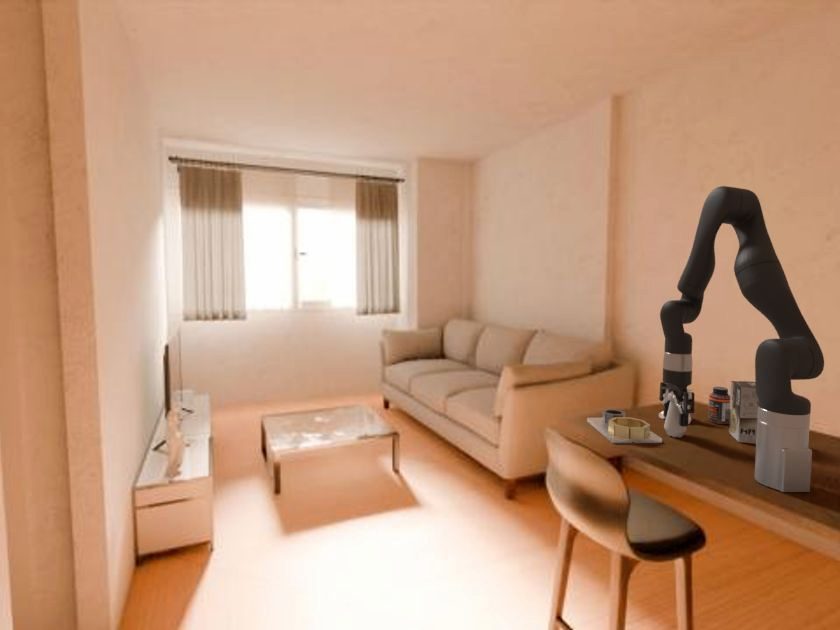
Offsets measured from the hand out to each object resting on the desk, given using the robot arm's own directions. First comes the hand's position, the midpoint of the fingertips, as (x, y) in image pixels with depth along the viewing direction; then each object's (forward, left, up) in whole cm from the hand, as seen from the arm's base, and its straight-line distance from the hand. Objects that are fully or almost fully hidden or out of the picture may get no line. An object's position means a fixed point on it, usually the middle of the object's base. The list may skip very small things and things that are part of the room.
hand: (675, 421), depth 136 cm
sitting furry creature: (+16, -10, -5) cm, 19 cm away
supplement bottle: (+12, -21, -5) cm, 24 cm away
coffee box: (-3, -19, -5) cm, 20 cm away
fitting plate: (+4, +14, -4) cm, 15 cm away
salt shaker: (0, 0, -4) cm, 4 cm away
